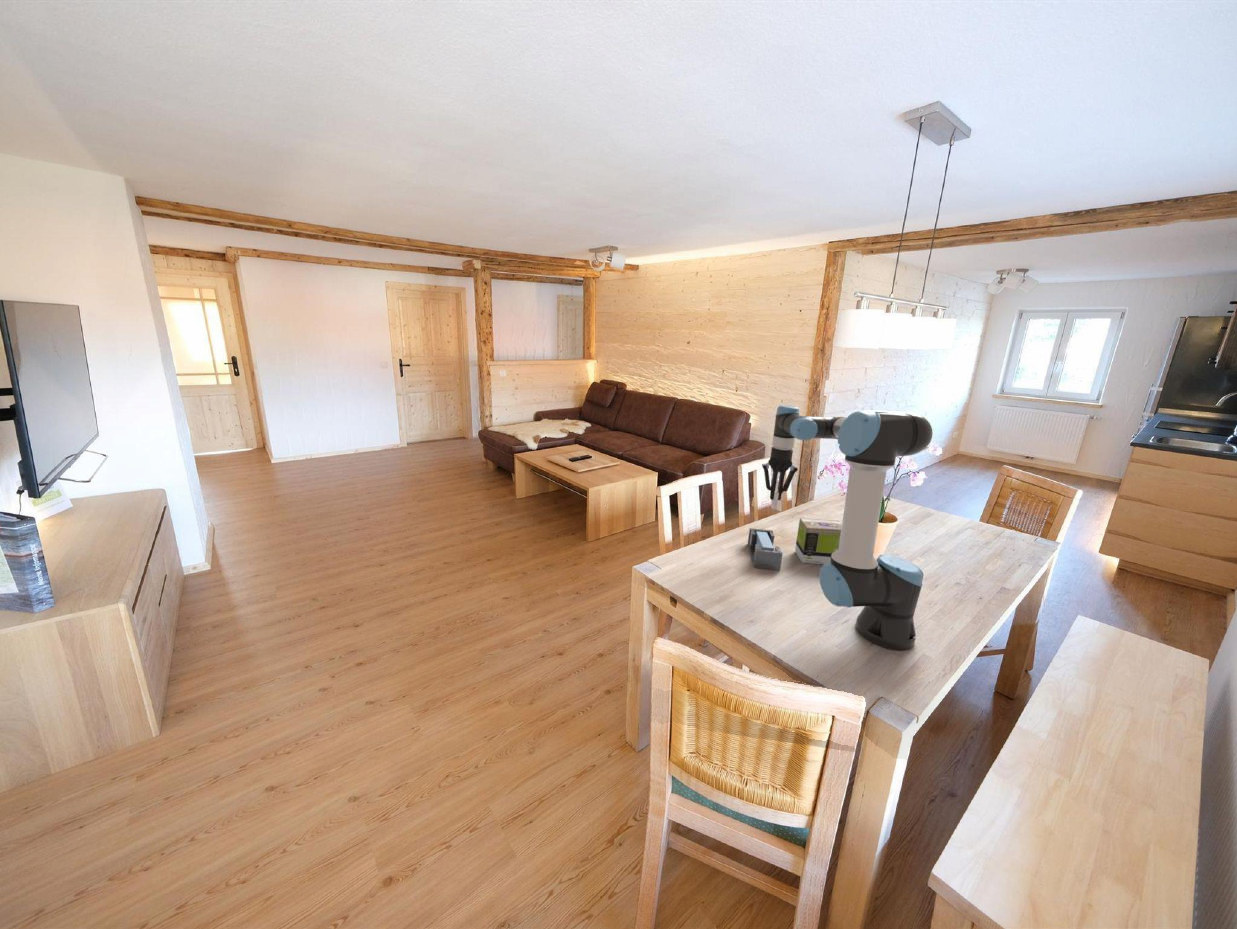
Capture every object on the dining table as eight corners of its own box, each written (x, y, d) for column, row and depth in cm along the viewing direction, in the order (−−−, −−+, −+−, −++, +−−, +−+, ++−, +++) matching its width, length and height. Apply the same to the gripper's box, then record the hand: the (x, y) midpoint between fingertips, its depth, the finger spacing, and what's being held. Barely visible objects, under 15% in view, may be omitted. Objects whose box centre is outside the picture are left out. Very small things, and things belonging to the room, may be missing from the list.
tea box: (833, 554, 184) (839, 519, 180) (842, 567, 175) (849, 530, 170) (793, 551, 185) (799, 516, 181) (800, 563, 176) (807, 527, 172)
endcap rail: (779, 570, 170) (782, 553, 168) (754, 568, 171) (756, 550, 169) (770, 546, 189) (772, 530, 187) (747, 544, 190) (749, 528, 188)
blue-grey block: (771, 562, 173) (774, 548, 171) (760, 561, 173) (762, 547, 172) (764, 546, 186) (766, 532, 185) (754, 545, 187) (756, 531, 185)
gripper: (798, 446, 175) (789, 505, 181) (762, 444, 176) (754, 502, 183) (803, 451, 168) (793, 512, 174) (766, 448, 169) (758, 509, 175)
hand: (773, 507), depth 178 cm, fingers closed
